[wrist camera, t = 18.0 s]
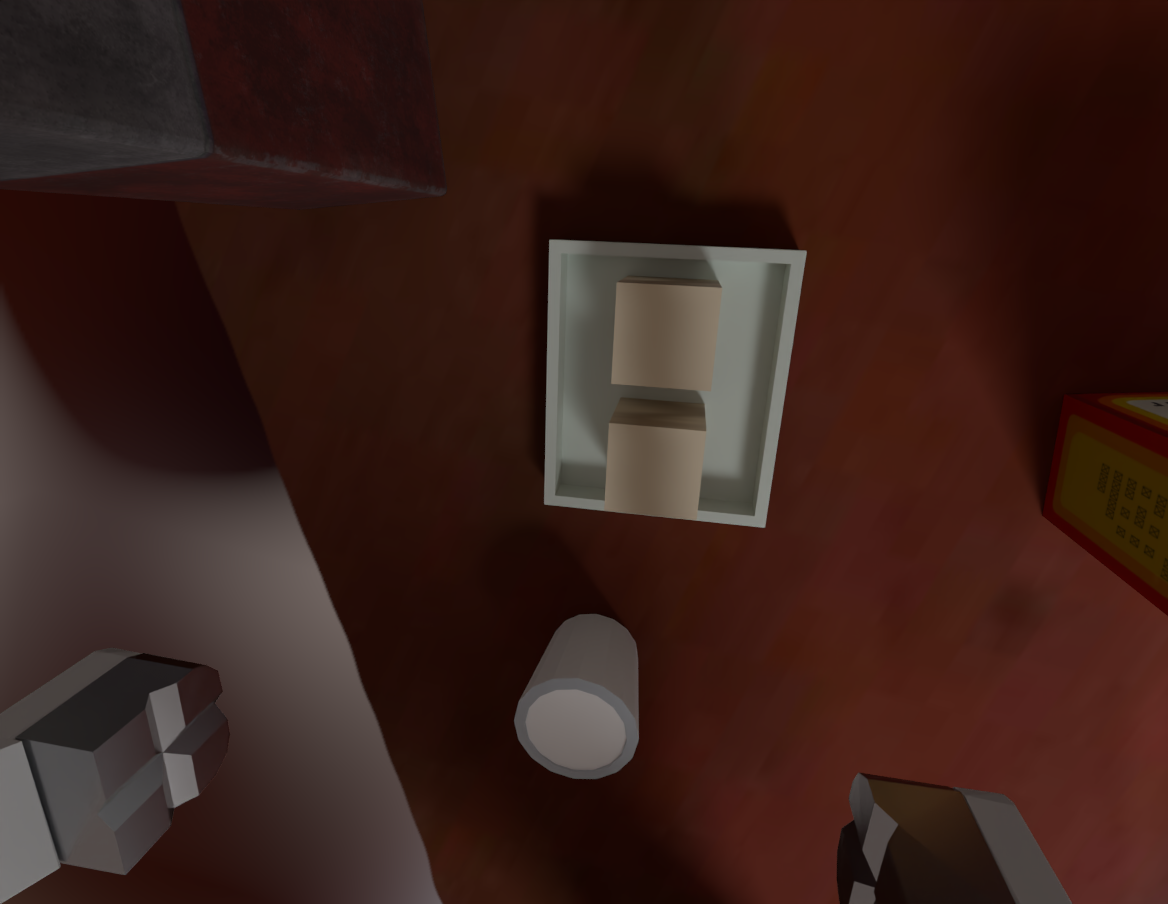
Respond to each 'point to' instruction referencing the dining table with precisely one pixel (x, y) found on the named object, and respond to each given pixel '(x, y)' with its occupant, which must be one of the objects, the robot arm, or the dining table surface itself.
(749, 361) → the tray
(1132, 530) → the baking soda box
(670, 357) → the block
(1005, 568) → the dining table surface
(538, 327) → the dining table surface
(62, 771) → the robot arm
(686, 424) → the block
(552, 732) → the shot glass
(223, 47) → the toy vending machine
